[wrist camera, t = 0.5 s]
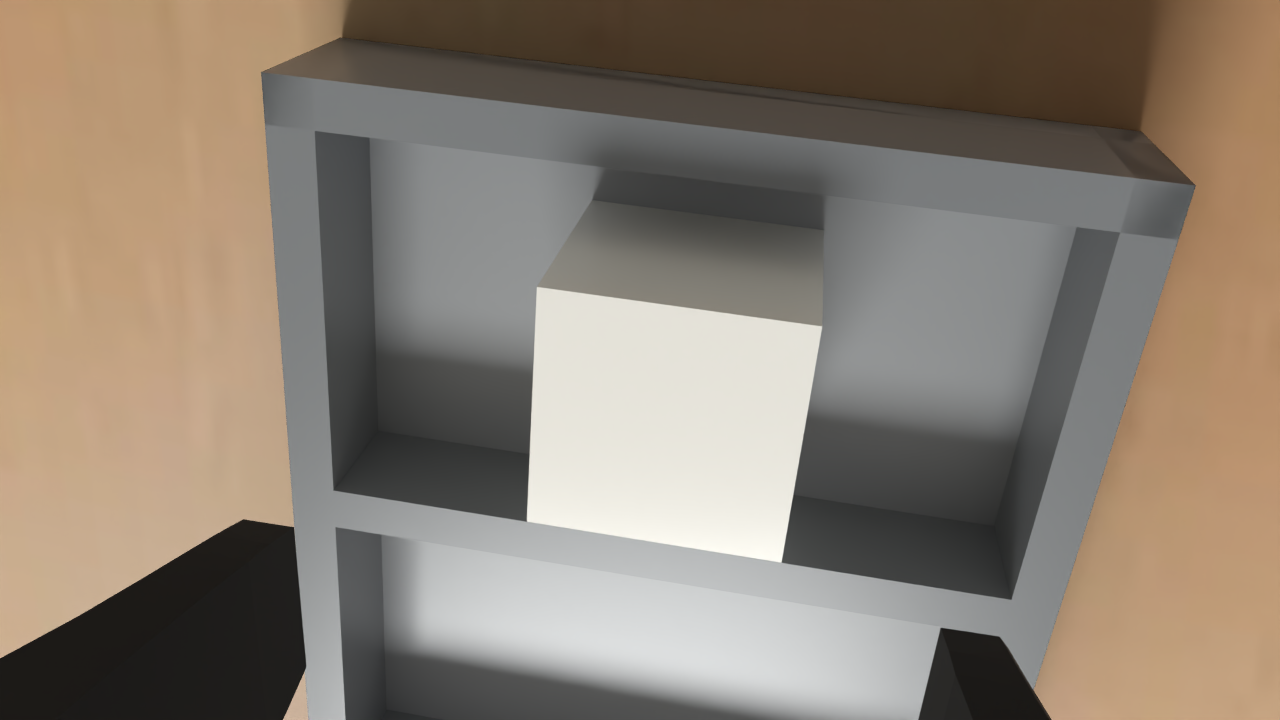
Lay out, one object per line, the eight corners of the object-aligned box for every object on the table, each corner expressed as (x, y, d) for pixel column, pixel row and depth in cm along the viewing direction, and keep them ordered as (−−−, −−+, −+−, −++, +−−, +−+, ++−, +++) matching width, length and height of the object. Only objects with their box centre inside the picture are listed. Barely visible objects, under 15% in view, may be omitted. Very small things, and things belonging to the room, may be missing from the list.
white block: (824, 230, 19) (822, 326, 15) (790, 433, 20) (781, 562, 17) (591, 200, 19) (536, 287, 15) (579, 401, 21) (527, 521, 17)
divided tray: (1141, 131, 18) (1196, 185, 15) (943, 809, 25) (957, 927, 22) (340, 37, 19) (261, 72, 17) (367, 704, 26) (314, 803, 24)
